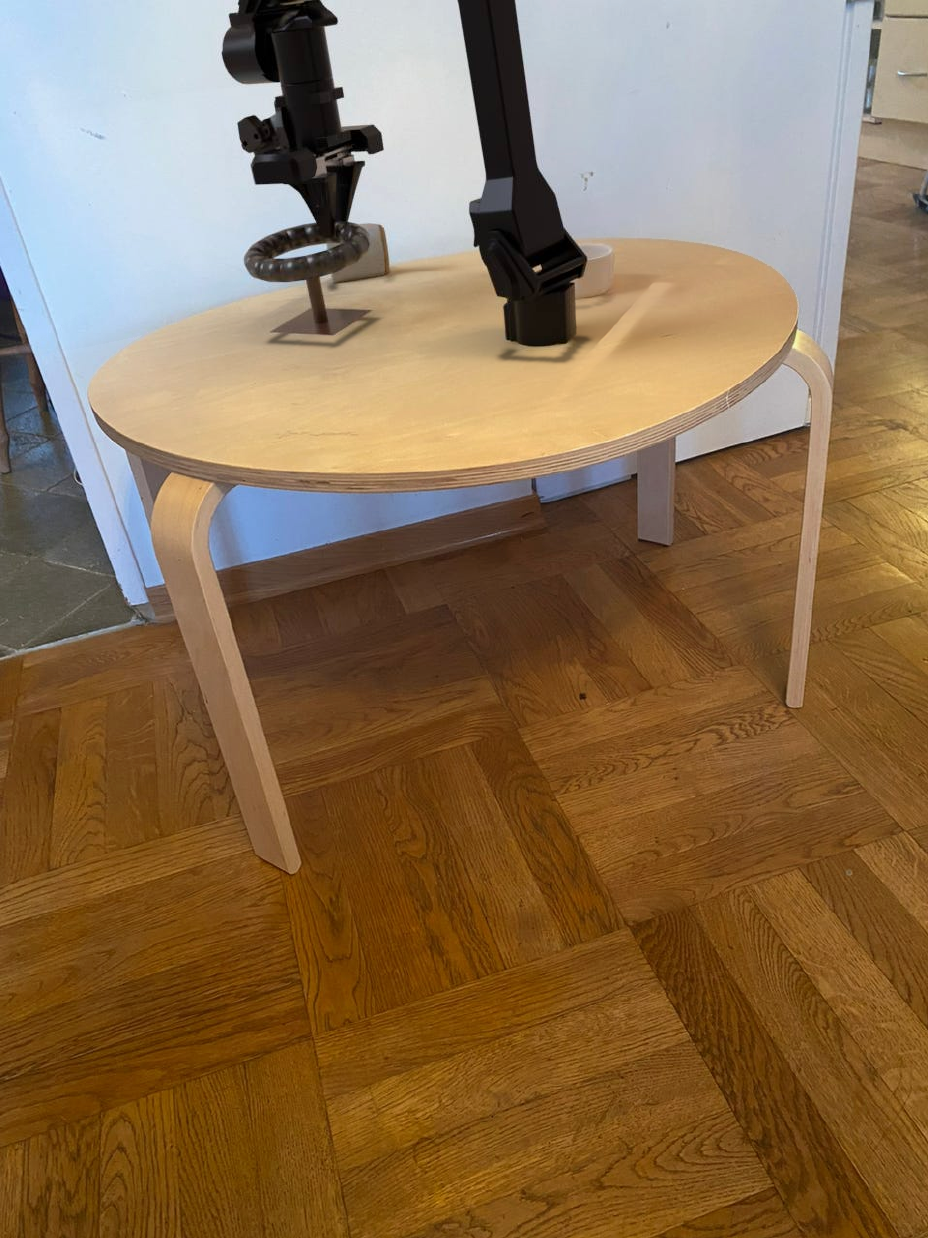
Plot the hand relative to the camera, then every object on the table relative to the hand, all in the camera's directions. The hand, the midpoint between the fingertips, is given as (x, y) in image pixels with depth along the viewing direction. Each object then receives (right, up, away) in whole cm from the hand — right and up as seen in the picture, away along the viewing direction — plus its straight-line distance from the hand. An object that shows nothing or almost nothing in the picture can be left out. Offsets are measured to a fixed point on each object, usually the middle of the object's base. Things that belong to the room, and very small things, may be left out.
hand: (335, 234), depth 103 cm
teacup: (+29, -7, +1) cm, 30 cm away
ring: (-3, -4, -4) cm, 6 cm away
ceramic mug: (+1, +2, +18) cm, 18 cm away
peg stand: (-2, -11, +1) cm, 11 cm away
